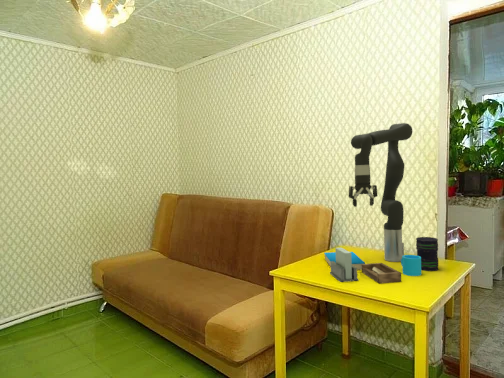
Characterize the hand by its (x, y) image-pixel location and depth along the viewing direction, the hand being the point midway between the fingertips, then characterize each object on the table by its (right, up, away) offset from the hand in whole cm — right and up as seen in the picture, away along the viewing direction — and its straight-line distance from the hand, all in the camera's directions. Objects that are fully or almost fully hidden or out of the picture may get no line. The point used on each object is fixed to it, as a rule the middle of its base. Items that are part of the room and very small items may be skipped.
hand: (363, 206), depth 179 cm
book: (-7, -33, +12) cm, 35 cm away
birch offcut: (+3, -31, -13) cm, 34 cm away
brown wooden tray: (+4, -33, -13) cm, 35 cm away
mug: (+20, -32, -8) cm, 39 cm away
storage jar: (+31, -31, -3) cm, 44 cm away
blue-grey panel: (-13, -32, -11) cm, 37 cm away
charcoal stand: (-13, -33, -11) cm, 37 cm away
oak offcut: (+1, -33, -13) cm, 36 cm away
